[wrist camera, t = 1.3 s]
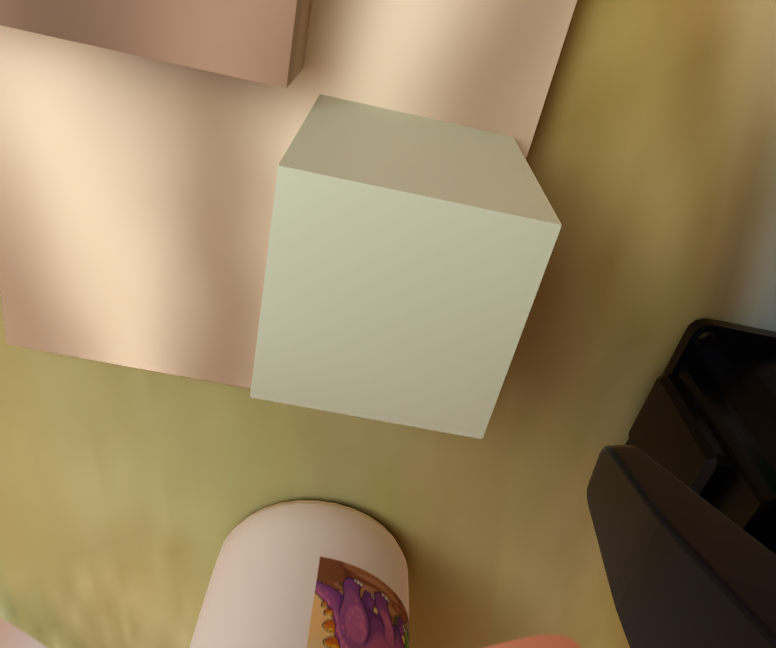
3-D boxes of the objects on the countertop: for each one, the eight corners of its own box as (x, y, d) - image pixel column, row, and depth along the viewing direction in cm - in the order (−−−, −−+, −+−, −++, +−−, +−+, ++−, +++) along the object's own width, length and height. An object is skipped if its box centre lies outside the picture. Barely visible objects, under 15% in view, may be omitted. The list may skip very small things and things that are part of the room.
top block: (513, 136, 16) (561, 225, 11) (461, 304, 19) (482, 439, 14) (319, 94, 16) (277, 165, 11) (294, 270, 18) (249, 397, 13)
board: (753, -593, 11) (783, -639, 10) (439, 404, 22) (440, 423, 21) (-97, -873, 10) (-146, -952, 9) (23, 327, 21) (6, 344, 20)
